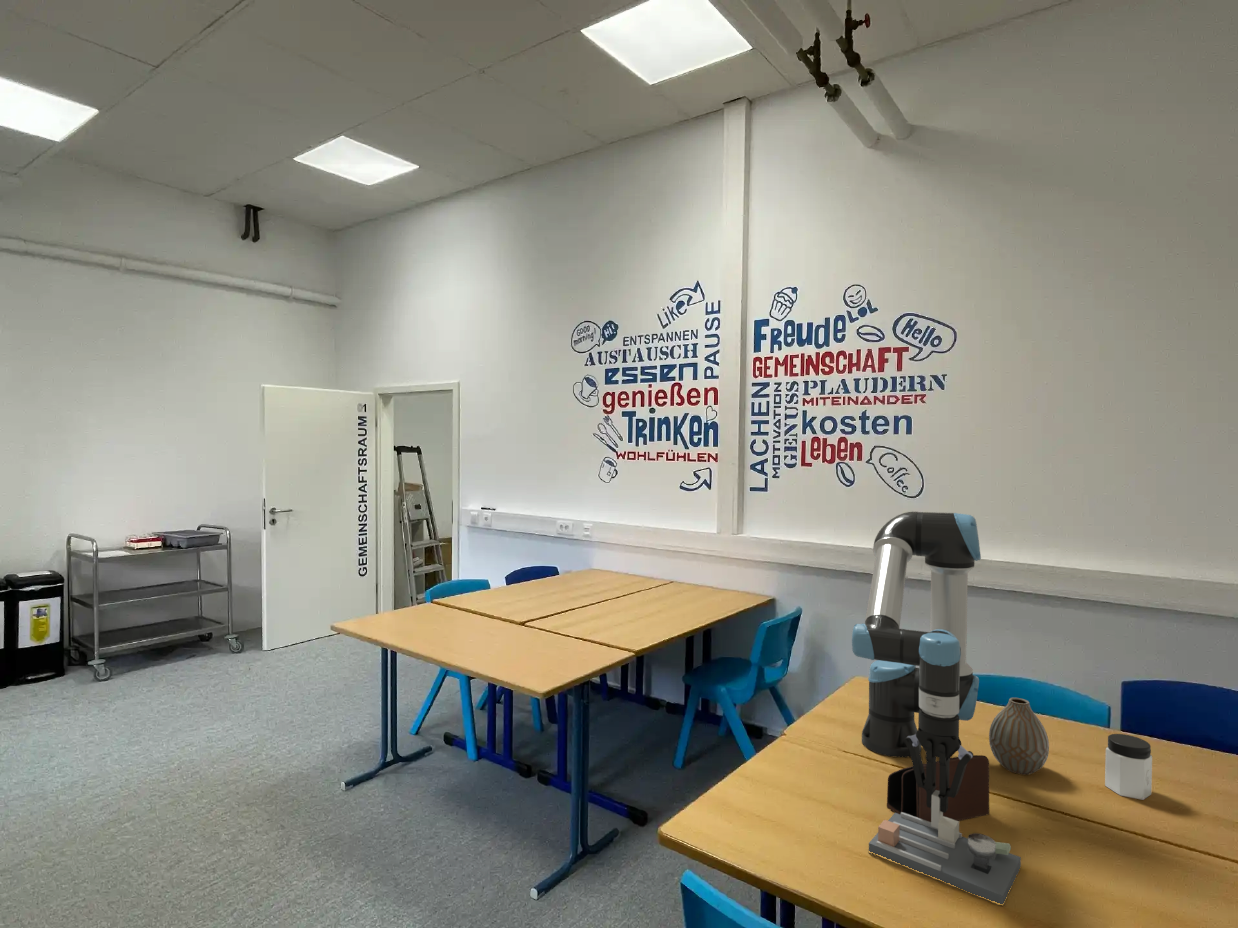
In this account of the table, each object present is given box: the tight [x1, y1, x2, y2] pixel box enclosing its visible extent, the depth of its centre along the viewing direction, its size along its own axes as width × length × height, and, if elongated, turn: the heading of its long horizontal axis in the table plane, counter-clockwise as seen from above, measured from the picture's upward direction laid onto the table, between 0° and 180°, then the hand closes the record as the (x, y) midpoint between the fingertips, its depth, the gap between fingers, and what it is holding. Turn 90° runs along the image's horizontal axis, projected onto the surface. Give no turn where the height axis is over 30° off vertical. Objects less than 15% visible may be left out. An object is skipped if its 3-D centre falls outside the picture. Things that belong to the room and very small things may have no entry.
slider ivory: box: [938, 816, 960, 843], centre depth 136 cm, size 3×4×3 cm
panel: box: [868, 812, 1022, 904], centre depth 133 cm, size 24×15×4 cm, turn 49°
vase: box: [988, 697, 1050, 776], centre depth 171 cm, size 13×13×18 cm
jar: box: [1104, 733, 1153, 801], centre depth 160 cm, size 9×8×12 cm
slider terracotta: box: [877, 819, 900, 847], centre depth 135 cm, size 3×4×3 cm
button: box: [967, 832, 996, 869], centre depth 128 cm, size 5×5×5 cm
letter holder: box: [886, 754, 990, 822], centre depth 151 cm, size 10×20×14 cm, turn 109°
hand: (936, 824), depth 138 cm, fingers closed
